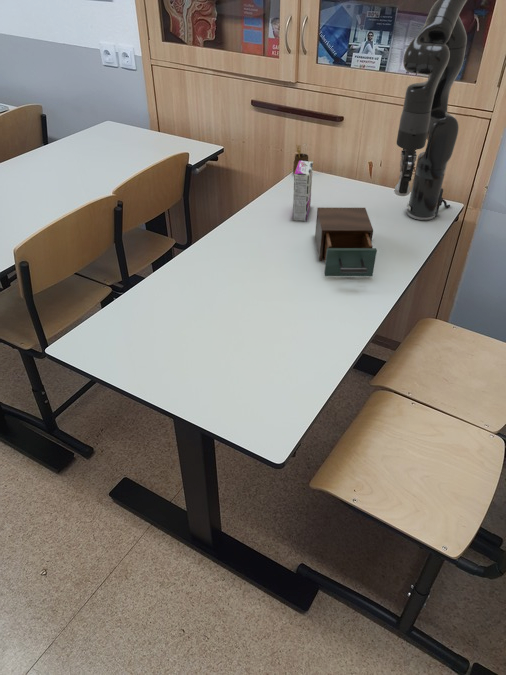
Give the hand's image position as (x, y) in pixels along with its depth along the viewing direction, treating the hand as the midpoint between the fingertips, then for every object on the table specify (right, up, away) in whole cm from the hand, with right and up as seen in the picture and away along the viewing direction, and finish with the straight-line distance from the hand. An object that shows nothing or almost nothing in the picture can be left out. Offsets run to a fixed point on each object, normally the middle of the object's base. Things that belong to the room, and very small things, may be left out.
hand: (402, 188), depth 151 cm
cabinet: (-16, -15, +12) cm, 25 cm away
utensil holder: (-24, +22, +57) cm, 66 cm away
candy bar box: (-26, 0, +30) cm, 40 cm away
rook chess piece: (0, -1, +1) cm, 1 cm away
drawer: (-16, -22, +1) cm, 27 cm away
